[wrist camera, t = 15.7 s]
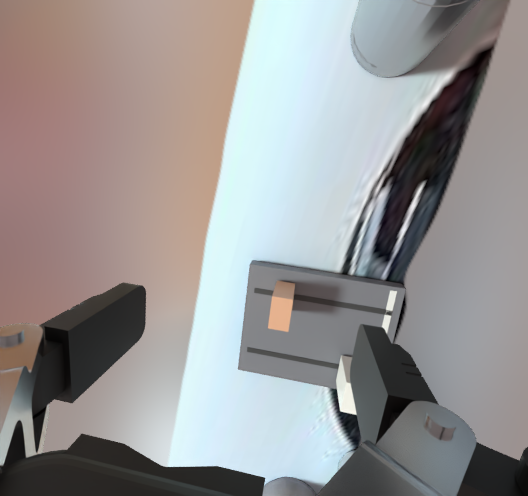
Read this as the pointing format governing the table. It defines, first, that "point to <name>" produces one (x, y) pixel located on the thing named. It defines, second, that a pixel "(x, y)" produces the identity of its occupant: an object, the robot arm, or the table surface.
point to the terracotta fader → (281, 306)
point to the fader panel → (312, 321)
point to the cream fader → (345, 386)
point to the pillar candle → (287, 488)
